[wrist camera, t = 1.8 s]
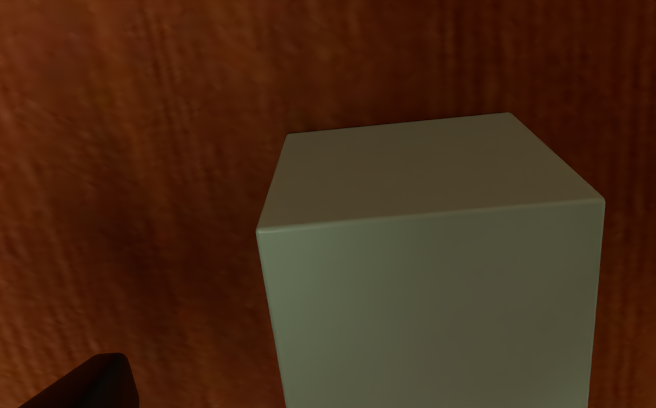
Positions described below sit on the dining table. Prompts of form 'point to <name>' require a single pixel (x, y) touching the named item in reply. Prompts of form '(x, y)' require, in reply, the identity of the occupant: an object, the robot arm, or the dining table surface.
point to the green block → (431, 267)
